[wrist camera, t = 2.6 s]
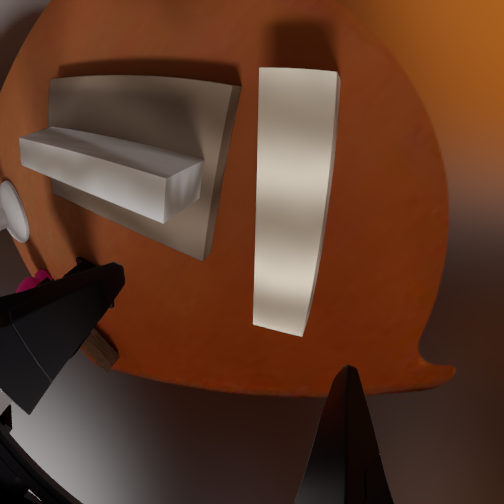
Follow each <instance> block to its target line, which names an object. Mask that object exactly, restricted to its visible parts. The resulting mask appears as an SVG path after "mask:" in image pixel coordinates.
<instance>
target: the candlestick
mask: <svg viewBox="0 0 504 504" xmlns="http://www.w3.org/2000/svg"><path fill="white" fill-rule="evenodd" d="M5 228H7V229H8V231H9V232H10V234H11V235H12V236H13V237H14V238H15V239H16V240H18V241H20V242H22V243H24V242H26V241H27V240H28V239H29V226H28V221H27V217H26V213H25V210H24V207H23V205H22V202H21V199H20V197H19V195H18V193H17V191H16V189H15V188H14V186H13V185H12V184H11V183H10V182H9V181H4V182H2V184H1V186H0V230H2V229H5Z"/></svg>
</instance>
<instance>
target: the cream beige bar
mask: <svg viewBox="0 0 504 504" xmlns="http://www.w3.org/2000/svg"><path fill="white" fill-rule="evenodd" d="M339 95H340V77H339V75H338V73H337V72H334V71H324V70H313V69H298V68H259V106H258V151H257V194H256V234H255V272H254V309H253V324H254V325H258V326H261V327H265V328H269V329H273V330H277V331H281V332H285V333H289V334H293V335H297V336H301V337H302V336H303V333H304V329H305V326H306V323H307V319H308V316H309V312H310V309H311V305H312V300H313V295H314V290H315V285H316V280H317V274H318V269H319V263H320V258H321V252H322V246H323V240H324V233H325V227H326V220H327V213H328V206H329V199H330V191H331V183H332V175H333V166H334V157H335V147H336V136H337V124H338V111H339Z"/></svg>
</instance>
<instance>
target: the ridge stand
mask: <svg viewBox="0 0 504 504" xmlns="http://www.w3.org/2000/svg"><path fill="white" fill-rule="evenodd" d="M241 87H242V86H237V85H231V84H225V83H219V82H213V81H205V80H198V79H189V78H180V77H168V76H153V75H88V76H73V77H63V78H56V79H50V89H49V112H48V128H46V129H43V130H40V131H37V132H34V133H31V134H29V135H26V136H23V137H20V138H19V140H20V154H21V165H23V166H25V167H28V168H30V169H32V170H35V171H37V172H40V173H42V174H44V175H47V176H49V177H51V182H52V190H53V193H54V194H56V195H58V196H60V197H62V198H64V199H67V200H69V201H71V202H73V203H75V204H77V205H79V206H81V207H83V208H85V209H88V210H90V211H92V212H94V213H96V214H98V215H100V216H102V217H105V218H107V219H109V220H111V221H113V222H115V223H118V224H120V225H122V226H124V227H126V228H129V229H131V230H133V231H135V232H137V233H140V234H142V235H144V236H146V237H149V238H151V239H153V240H155V241H158V242H160V243H162V244H164V245H167V246H169V247H171V248H173V249H176V250H178V251H180V252H183V253H185V254H187V255H189V256H192V257H194V258H196V259H199V260H201V261H203V260H204V259H205V258H206V257H207V256H208V255H209V254H210V253H211V248H212V242H213V235H214V229H215V223H216V217H217V211H218V205H219V199H220V193H221V187H222V182H223V176H224V171H225V165H226V160H227V155H228V150H229V144H230V139H231V134H232V129H233V124H234V120H235V115H236V110H237V105H238V101H239V96H240V92H241Z"/></svg>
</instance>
